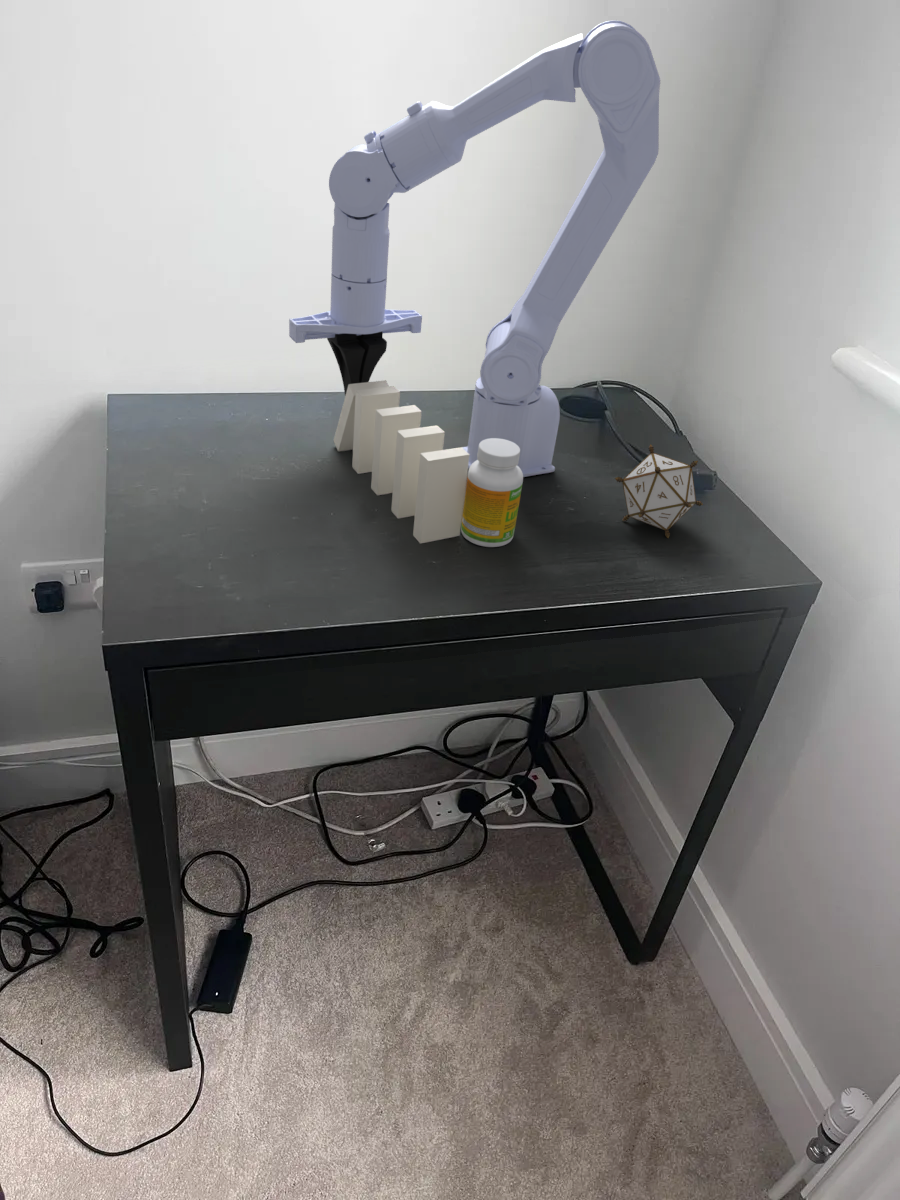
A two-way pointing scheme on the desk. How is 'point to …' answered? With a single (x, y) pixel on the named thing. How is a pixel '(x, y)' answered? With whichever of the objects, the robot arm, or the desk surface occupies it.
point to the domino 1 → (351, 415)
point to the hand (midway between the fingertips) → (353, 398)
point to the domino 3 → (389, 443)
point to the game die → (659, 491)
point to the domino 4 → (411, 465)
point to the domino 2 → (369, 423)
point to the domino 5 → (440, 494)
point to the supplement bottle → (492, 494)
